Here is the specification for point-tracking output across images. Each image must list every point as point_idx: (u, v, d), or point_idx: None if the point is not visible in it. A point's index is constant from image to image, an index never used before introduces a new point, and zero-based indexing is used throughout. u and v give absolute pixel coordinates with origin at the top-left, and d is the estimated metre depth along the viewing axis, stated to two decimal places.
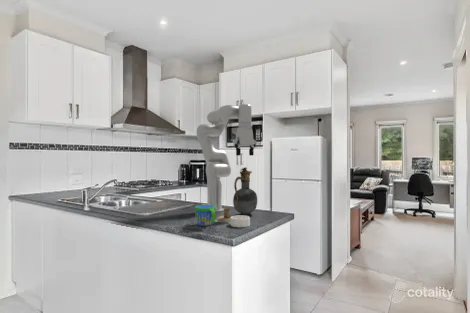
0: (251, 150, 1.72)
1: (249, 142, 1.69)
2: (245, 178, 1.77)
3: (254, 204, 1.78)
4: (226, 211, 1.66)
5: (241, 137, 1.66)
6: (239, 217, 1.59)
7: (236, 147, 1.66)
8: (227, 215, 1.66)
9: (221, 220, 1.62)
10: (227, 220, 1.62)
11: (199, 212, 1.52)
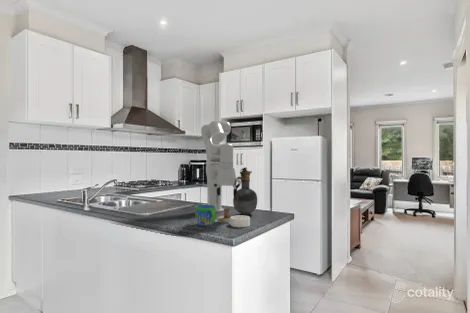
0: (219, 190, 1.69)
1: None
2: (245, 178, 1.77)
3: (254, 204, 1.78)
4: (226, 211, 1.66)
5: None
6: (239, 217, 1.59)
7: (237, 187, 1.65)
8: (227, 215, 1.66)
9: (221, 220, 1.62)
10: (227, 220, 1.62)
11: (199, 212, 1.52)
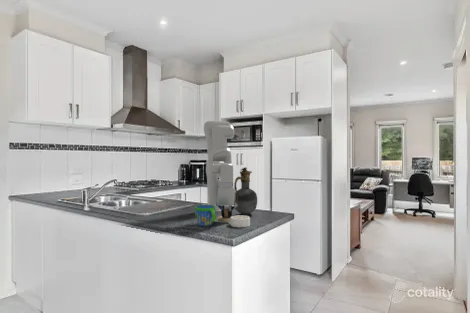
0: None
1: None
2: (245, 178, 1.77)
3: (254, 204, 1.78)
4: (226, 211, 1.66)
5: None
6: (239, 217, 1.59)
7: None
8: (227, 215, 1.66)
9: (221, 220, 1.62)
10: (227, 220, 1.62)
11: (199, 212, 1.52)
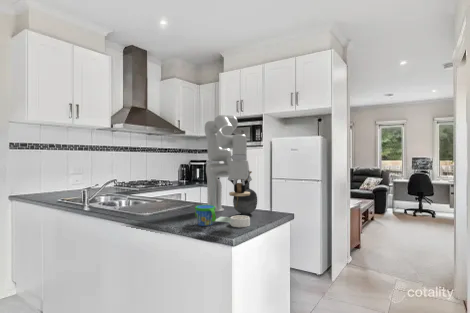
0: None
1: None
2: None
3: (254, 204, 1.78)
4: (239, 185, 1.54)
5: None
6: (239, 217, 1.59)
7: None
8: (240, 190, 1.54)
9: (234, 194, 1.50)
10: (241, 194, 1.50)
11: (199, 212, 1.52)
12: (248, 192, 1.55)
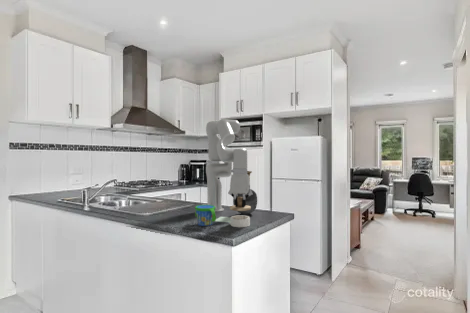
0: None
1: None
2: None
3: (254, 204, 1.78)
4: (240, 200, 1.53)
5: None
6: (239, 217, 1.59)
7: None
8: (241, 204, 1.53)
9: (235, 209, 1.50)
10: (241, 209, 1.49)
11: (199, 212, 1.52)
12: (249, 206, 1.55)
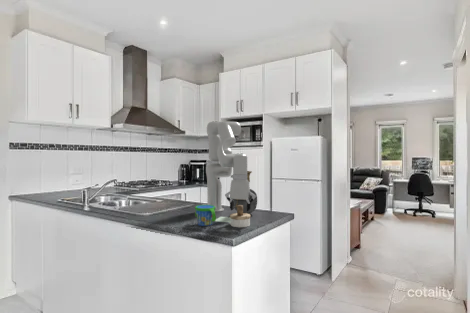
0: (233, 204, 1.57)
1: None
2: None
3: (254, 204, 1.78)
4: (240, 208, 1.54)
5: None
6: None
7: None
8: (241, 212, 1.54)
9: (234, 218, 1.50)
10: (241, 218, 1.50)
11: (199, 212, 1.52)
12: (248, 214, 1.55)
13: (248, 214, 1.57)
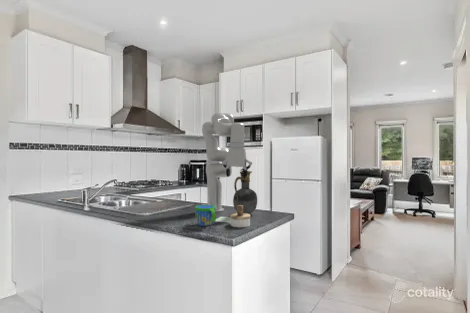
0: (229, 171, 1.63)
1: None
2: (245, 178, 1.77)
3: (254, 204, 1.78)
4: (240, 208, 1.54)
5: None
6: None
7: (247, 169, 1.59)
8: (241, 212, 1.54)
9: (234, 218, 1.50)
10: (241, 218, 1.50)
11: (199, 212, 1.52)
12: (248, 214, 1.55)
13: (248, 214, 1.57)
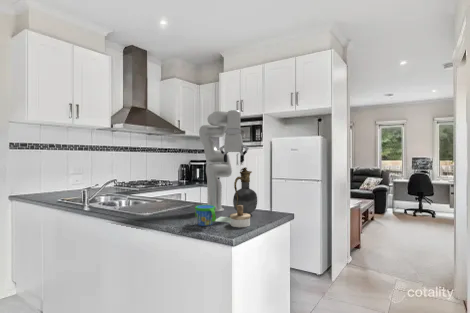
0: (226, 157, 1.69)
1: None
2: (245, 178, 1.77)
3: (254, 204, 1.78)
4: (240, 208, 1.54)
5: None
6: None
7: (244, 154, 1.65)
8: (241, 212, 1.54)
9: (234, 218, 1.50)
10: (241, 218, 1.50)
11: (199, 212, 1.52)
12: (248, 214, 1.55)
13: (248, 214, 1.57)
